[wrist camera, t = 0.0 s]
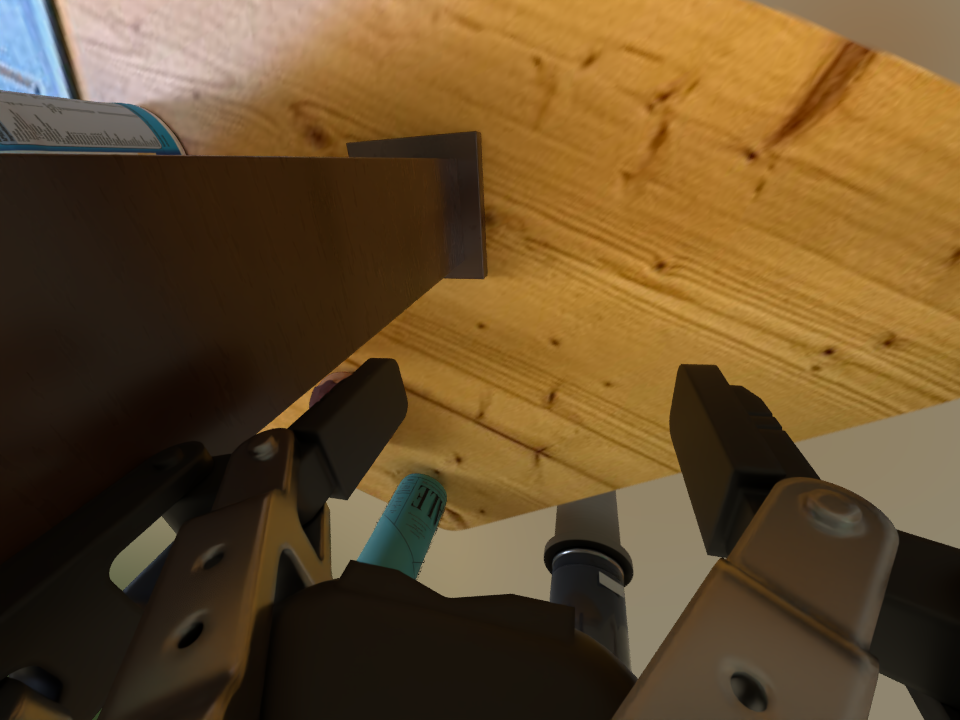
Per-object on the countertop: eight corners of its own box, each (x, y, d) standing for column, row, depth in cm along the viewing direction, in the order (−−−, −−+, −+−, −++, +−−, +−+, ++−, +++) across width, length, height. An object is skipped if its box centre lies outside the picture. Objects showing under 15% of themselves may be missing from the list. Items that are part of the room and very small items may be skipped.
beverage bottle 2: (400, 484, 46) (294, 672, 29) (412, 453, 42) (298, 647, 25) (445, 506, 46) (363, 707, 29) (460, 477, 42) (378, 687, 25)
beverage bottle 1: (164, 93, 28) (-447, -3, 12) (214, 205, 32) (-187, 255, 16) (97, 112, 31) (-489, 55, 14) (151, 214, 35) (-255, 266, 18)
